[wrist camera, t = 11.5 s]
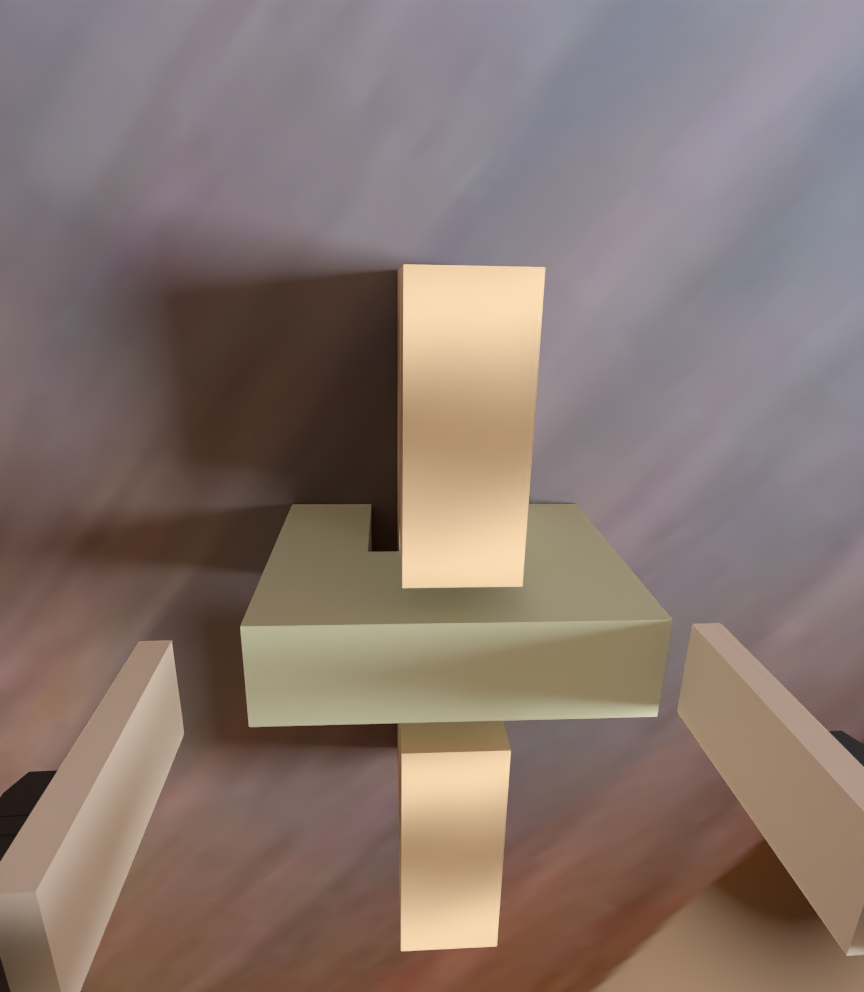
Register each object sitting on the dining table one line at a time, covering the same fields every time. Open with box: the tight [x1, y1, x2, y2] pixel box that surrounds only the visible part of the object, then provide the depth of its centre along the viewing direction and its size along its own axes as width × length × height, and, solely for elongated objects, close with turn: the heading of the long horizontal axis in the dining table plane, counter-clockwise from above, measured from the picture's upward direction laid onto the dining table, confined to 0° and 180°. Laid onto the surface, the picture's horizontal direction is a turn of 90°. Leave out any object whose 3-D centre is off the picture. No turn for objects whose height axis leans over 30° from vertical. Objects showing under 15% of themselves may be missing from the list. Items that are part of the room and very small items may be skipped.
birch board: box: [397, 264, 545, 951], centre depth 21 cm, size 20×3×9 cm, turn 179°
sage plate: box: [240, 504, 673, 727], centre depth 21 cm, size 11×3×9 cm, turn 89°
